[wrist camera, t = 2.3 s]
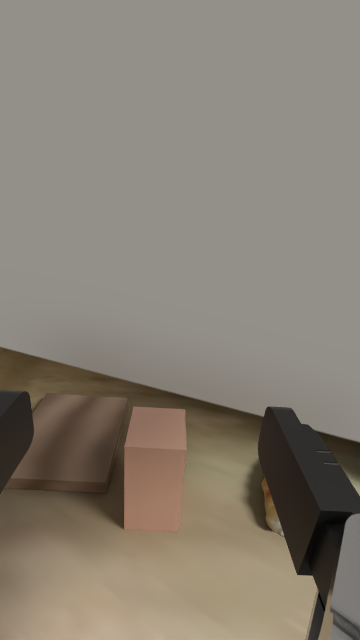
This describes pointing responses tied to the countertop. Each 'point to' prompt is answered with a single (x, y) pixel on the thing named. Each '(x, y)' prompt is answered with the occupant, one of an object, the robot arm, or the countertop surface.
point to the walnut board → (72, 444)
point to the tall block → (154, 469)
